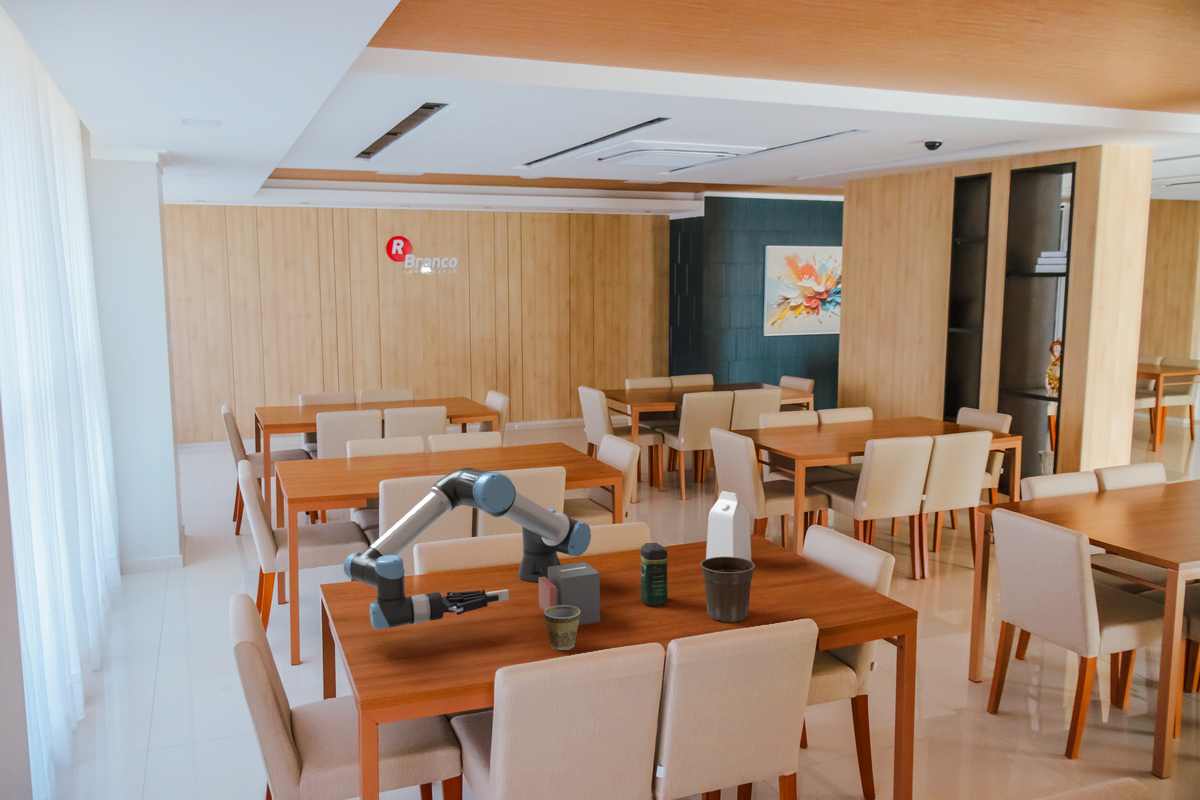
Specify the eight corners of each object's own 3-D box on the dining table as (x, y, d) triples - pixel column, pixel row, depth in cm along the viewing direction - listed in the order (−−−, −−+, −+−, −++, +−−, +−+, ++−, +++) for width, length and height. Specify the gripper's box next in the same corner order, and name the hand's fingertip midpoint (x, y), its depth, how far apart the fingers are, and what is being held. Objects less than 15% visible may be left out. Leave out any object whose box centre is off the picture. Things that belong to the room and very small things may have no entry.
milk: (751, 562, 309) (752, 492, 306) (733, 569, 301) (733, 497, 298) (724, 555, 317) (724, 487, 314) (705, 562, 309) (706, 492, 306)
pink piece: (550, 617, 247) (549, 587, 246) (538, 606, 256) (538, 577, 255) (594, 610, 253) (594, 580, 252) (581, 599, 262) (581, 571, 261)
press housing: (562, 628, 248) (561, 577, 246) (548, 614, 259) (547, 565, 257) (600, 621, 253) (599, 572, 251) (584, 608, 264) (584, 560, 262)
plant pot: (690, 610, 261) (690, 559, 259) (736, 603, 267) (736, 553, 265) (717, 629, 246) (717, 575, 244) (764, 620, 252) (765, 568, 250)
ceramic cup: (581, 652, 231) (581, 617, 229) (545, 654, 230) (544, 618, 229) (579, 634, 244) (578, 600, 242) (544, 635, 243) (543, 602, 242)
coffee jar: (670, 605, 265) (670, 548, 263) (646, 608, 264) (645, 550, 262) (661, 595, 275) (661, 539, 273) (638, 597, 273) (637, 541, 271)
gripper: (422, 612, 244) (502, 599, 253) (432, 628, 232) (515, 614, 241) (421, 587, 243) (501, 575, 252) (431, 602, 231) (514, 588, 240)
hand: (507, 594), depth 247 cm, fingers closed
